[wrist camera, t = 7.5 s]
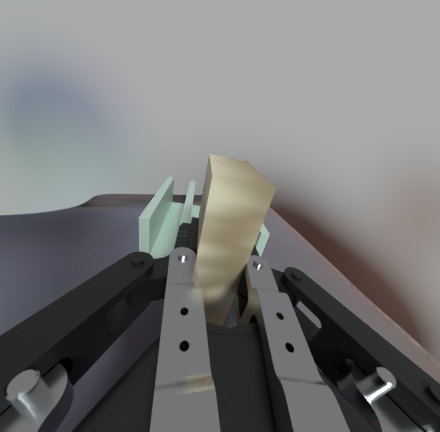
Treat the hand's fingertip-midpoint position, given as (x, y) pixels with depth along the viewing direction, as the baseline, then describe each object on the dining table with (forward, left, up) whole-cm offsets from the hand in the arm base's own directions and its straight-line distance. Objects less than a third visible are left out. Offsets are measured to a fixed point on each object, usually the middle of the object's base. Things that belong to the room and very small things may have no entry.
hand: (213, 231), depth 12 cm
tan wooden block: (0, -2, -7) cm, 7 cm away
